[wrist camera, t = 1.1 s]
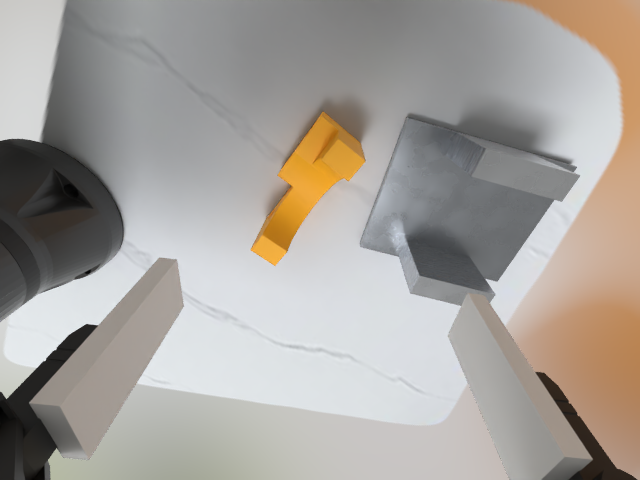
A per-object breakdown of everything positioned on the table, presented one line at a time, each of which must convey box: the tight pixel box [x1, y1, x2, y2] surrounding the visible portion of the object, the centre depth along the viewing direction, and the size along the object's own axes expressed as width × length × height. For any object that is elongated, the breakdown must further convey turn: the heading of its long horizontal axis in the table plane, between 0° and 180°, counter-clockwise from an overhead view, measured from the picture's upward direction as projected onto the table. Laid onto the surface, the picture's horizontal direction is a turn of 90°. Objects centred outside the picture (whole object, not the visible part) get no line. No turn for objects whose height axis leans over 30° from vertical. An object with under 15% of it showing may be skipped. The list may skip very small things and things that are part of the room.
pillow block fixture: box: [360, 117, 580, 306], centre depth 27 cm, size 16×13×7 cm
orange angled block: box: [251, 111, 365, 266], centre depth 27 cm, size 12×4×6 cm, turn 142°
